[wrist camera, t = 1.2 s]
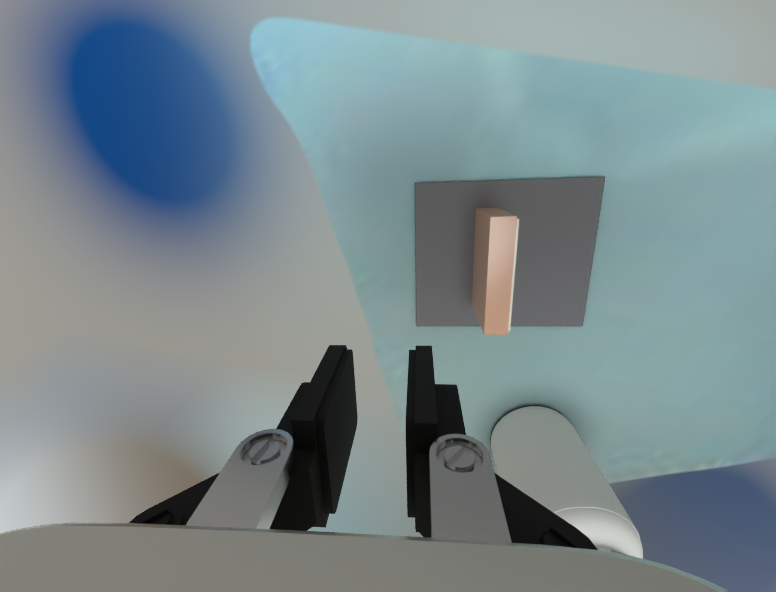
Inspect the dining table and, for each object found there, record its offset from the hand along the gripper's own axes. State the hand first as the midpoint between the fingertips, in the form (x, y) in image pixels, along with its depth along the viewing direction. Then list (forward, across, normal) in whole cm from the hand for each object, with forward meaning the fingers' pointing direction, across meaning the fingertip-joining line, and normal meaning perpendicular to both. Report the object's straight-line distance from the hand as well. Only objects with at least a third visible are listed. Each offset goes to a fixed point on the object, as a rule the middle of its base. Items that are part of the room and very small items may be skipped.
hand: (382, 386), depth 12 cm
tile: (+19, -6, 0) cm, 20 cm away
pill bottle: (+19, -12, +18) cm, 29 cm away
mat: (+19, -8, 0) cm, 21 cm away
